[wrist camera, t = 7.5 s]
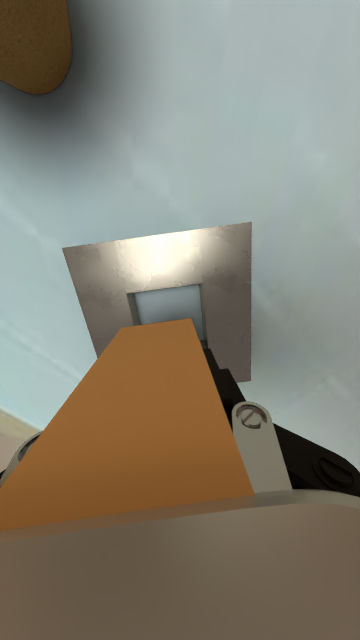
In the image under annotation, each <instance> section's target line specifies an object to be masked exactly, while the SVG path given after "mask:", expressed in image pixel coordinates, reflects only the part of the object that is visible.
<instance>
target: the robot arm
mask: <svg viewBox="0 0 360 640" xmlns="http://www.w3.org/2000/svg"><path fill="white" fill-rule="evenodd" d="M203 352H204V355H205V357H206V360H207V363H208V366H209V369H210V371H211V374H212V377H213V380H214V382H215V385H216V388H217V391H218V394H219V396H220V399H221V402H222V405H223V408H224V410H225V413H226V416H227V419H228V421H229V424H230V427H231V430H232V433H233V435H234V438H235V441H236V444H237V446H238V449H239V452H240V455H241V458H242V460H243V463H244V466H245V469H246V471H247V474H248V477H249V480H250V483H251V485H252V488H253V491H254V494H255V495H252V496H243V497H236V498H229V499H221V500H214V501H206V502H199V503H191V504H184V505H176V506H169V507H162V508H155V509H148V510H141V511H134V512H127V513H120V514H113V515H106V516H99V517H92V518H85V519H78V520H71V521H64V522H57V523H51V524H44V525H37V526H31V527H24V528H18V529H11V530H5V531H0V640H360V472H359V471H358V470H357V469H356V468H355V467H354V466H353V465H352V464H351V463H350V462H348V461H347V460H346V459H344V458H343V457H341V456H339V455H338V454H336V453H334V452H332V451H330V450H328V449H326V448H323V447H321V446H319V445H317V444H315V443H313V442H311V441H309V440H307V439H305V438H303V437H301V436H299V435H297V434H295V433H292V432H290V431H288V430H286V429H284V428H282V427H280V426H278V425H276V424H274V423H273V422H272V419H271V416H270V414H269V412H268V411H267V410H266V409H265V408H264V407H262V406H261V405H259V404H257V403H254V402H249V401H248V402H246V400H245V398H244V396H243V395H242V393H241V391H240V389H239V387H238V385H237V383H236V382H235V380H234V378H233V376H232V374H231V372H230V370H229V369H228V368H225V369H219V366H218V364H217V362H216V360H215V358H214V355H213V353H212V351H211V349H210V348H209V349H203ZM43 431H44V430H43ZM43 431H41V432H39V433H37V434H35V435H34V436H32V437H30V438H29V439H28V440H27V441H25V442H24V443H23V444H22V445H21V446H20V447H19V449H18V450H17V451H16V453H15V454H14V456H13V458H12V459H11V461H10V463H9V465H8V467H7V468H6V469H5V470H4V471H2V472H1V473H0V488H1V486H2V485H3V484H4V482H5V481H6V480H7V478H8V477H9V476H10V474H11V473H12V472H13V470H14V469H15V468H16V467H17V465H18V464H19V463H20V461H21V460H22V459H23V457H24V456H25V455H26V453H27V452H28V451H29V449H30V448H31V447H32V445H33V444H34V443H35V441H36V440H37V439H38V437H39V436H40V435H41V433H42V432H43Z"/></svg>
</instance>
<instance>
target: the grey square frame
mask: <svg viewBox="0 0 360 640" xmlns="http://www.w3.org/2000/svg"><path fill="white" fill-rule="evenodd" d="M251 228H252V222H248V223H241V224H234V225H226V226H219V227H212V228H205V229H197V230H190V231H183V232H176V233H168V234H161V235H154V236H146V237H139V238H132V239H125V240H117V241H110V242H103V243H96V244H88V245H81V246H74V247H67V248H62V250H63V253H64V256H65V259H66V262H67V265H68V268H69V271H70V275H71V278H72V281H73V284H74V287H75V290H76V293H77V296H78V299H79V302H80V305H81V308H82V311H83V315H84V318H85V321H86V324H87V327H88V330H89V333H90V336H91V339H92V342H93V345H94V348H95V351H96V355H97V358H99V357H100V355H101V354H102V353H103V351H104V350H105V349H106V347H107V346H108V345H109V343H110V342H111V341H112V339H113V338H114V337H115V335H116V334H117V333H118V331H119V330H120V329H121V328H123V327H130V326H137V325H141V324H140V320H139V315H138V311H137V306H136V301H135V297H134V292H140V291H148V290H155V289H163V288H170V287H178V286H185V285H192V284H199V286H200V297H201V308H202V319H203V330H204V340H203V341H200V344H201V346H202V349H209V348H210V349H211V351H212V353H213V355H214V358H215V360H216V362H217V364H218V366H219V369H225V368H228V369H229V370H230V372H231V374H232V376H233V378H234V380H235V382H236V383H238V382H246V381H251Z"/></svg>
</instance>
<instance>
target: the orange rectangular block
mask: <svg viewBox="0 0 360 640" xmlns="http://www.w3.org/2000/svg"><path fill="white" fill-rule="evenodd" d="M252 495H255V494H254V491H253V488H252V485H251V483H250V480H249V477H248V474H247V471H246V469H245V466H244V463H243V460H242V458H241V455H240V452H239V449H238V446H237V444H236V441H235V438H234V435H233V433H232V430H231V427H230V424H229V421H228V419H227V416H226V413H225V410H224V408H223V405H222V402H221V399H220V396H219V394H218V391H217V388H216V385H215V382H214V380H213V377H212V374H211V371H210V369H209V366H208V363H207V360H206V357H205V355H204V352H203V349H202V346H201V344H200V341H199V338H198V335H197V332H196V330H195V327H194V324H193V321H192V319H191V318H188V319H181V320H174V321H166V322H159V323H152V324H145V325H137V326H130V327H123V328H121V329H120V330H119V331H118V333H117V334H116V335H115V337H114V338H113V339H112V341H111V342H110V343H109V345H108V346H107V347H106V349H105V350H104V351H103V353H102V354H101V355H100V357H99V358H98V359H97V360H96V362H95V363H94V364H93V366H92V367H91V368H90V370H89V371H88V372H87V374H86V375H85V376H84V378H83V379H82V380H81V382H80V383H79V384H78V386H77V387H76V388H75V390H74V391H73V392H72V394H71V395H70V396H69V398H68V399H67V400H66V402H65V403H64V404H63V406H62V407H61V408H60V410H59V411H58V412H57V414H56V415H55V416H54V417H53V419H52V420H51V421H50V423H49V424H48V425H47V427H46V428H45V429H44V431H43V432H42V433H41V435H40V436H39V437H38V439H37V440H36V441H35V443H34V444H33V445H32V447H31V448H30V449H29V451H28V452H27V453H26V455H25V456H24V457H23V459H22V460H21V461H20V463H19V464H18V465H17V467H16V468H15V469H14V470H13V472H12V473H11V474H10V476H9V477H8V478H7V480H6V481H5V482H4V484H3V485H2V486H1V488H0V531H5V530H11V529H18V528H24V527H31V526H37V525H44V524H51V523H57V522H64V521H71V520H78V519H85V518H92V517H99V516H106V515H113V514H120V513H127V512H134V511H141V510H148V509H155V508H162V507H169V506H176V505H184V504H191V503H199V502H206V501H214V500H221V499H229V498H236V497H243V496H252Z"/></svg>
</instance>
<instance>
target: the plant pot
mask: <svg viewBox="0 0 360 640" xmlns="http://www.w3.org/2000/svg"><path fill="white" fill-rule="evenodd" d="M71 56H72V37H71V29H70V22H69V16H68V9H67V2H66V0H0V80H1V81H3V82H5V83H7V84H9V85H11V86H13V87H15V88H17V89H19V90H21V91H23V92H26V93H29V94H36V95H40V94H46V93H49V92H51V91H53V90H55V89H56V88H57V87H58V86H59V85H60V84H61V83H62V81H63V80H64V78H65V76H66V74H67V72H68V69H69V66H70V62H71Z"/></svg>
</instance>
